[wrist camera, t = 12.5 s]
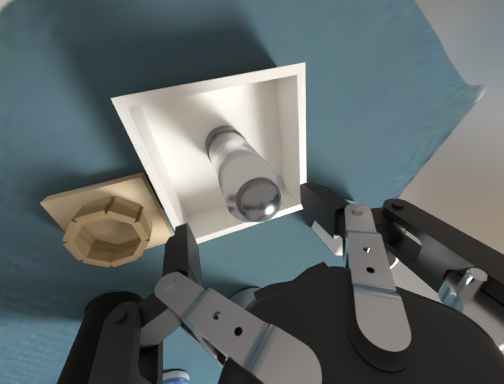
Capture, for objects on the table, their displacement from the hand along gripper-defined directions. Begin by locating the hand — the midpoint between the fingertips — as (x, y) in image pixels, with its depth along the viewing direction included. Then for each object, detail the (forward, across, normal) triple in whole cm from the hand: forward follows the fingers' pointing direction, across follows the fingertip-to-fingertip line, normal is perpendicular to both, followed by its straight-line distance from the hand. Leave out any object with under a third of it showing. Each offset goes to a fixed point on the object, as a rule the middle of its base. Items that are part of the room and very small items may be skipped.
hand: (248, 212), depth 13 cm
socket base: (+14, +14, +4) cm, 20 cm away
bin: (+14, -1, 0) cm, 14 cm away
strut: (+13, -1, -1) cm, 13 cm away
